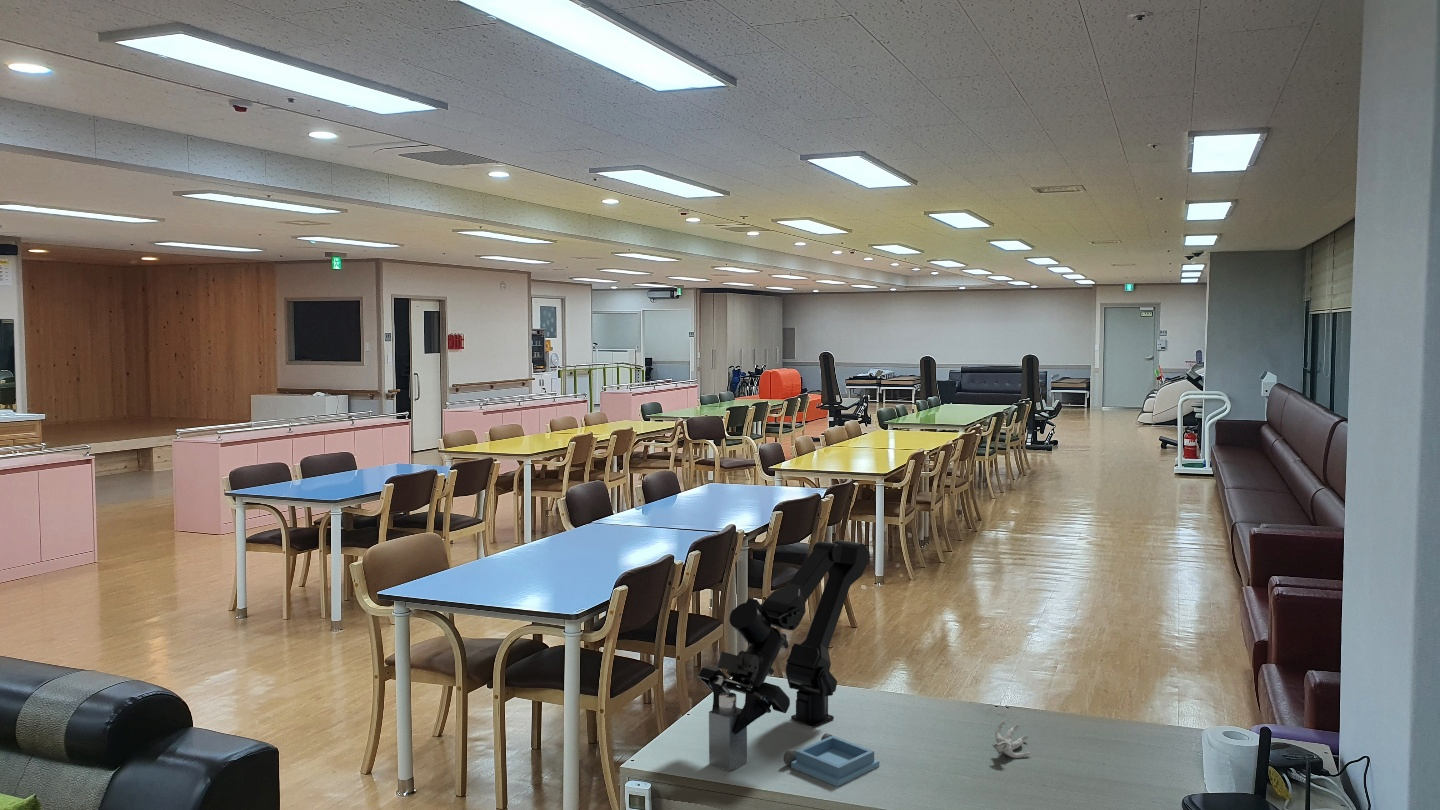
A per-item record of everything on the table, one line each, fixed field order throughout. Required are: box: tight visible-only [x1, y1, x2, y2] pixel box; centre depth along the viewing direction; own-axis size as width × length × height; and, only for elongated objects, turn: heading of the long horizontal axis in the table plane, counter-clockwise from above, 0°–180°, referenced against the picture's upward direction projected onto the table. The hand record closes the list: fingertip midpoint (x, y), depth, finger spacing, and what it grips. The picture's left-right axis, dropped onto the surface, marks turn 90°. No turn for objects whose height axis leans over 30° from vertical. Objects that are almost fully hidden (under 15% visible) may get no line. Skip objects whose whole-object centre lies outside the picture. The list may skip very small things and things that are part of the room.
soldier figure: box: [991, 719, 1032, 759], centre depth 198 cm, size 8×5×12 cm
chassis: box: [782, 733, 880, 787], centre depth 192 cm, size 13×12×3 cm
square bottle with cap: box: [708, 691, 748, 772], centre depth 193 cm, size 5×5×13 cm
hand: (723, 729), depth 192 cm, fingers closed on square bottle with cap, 5 cm apart
